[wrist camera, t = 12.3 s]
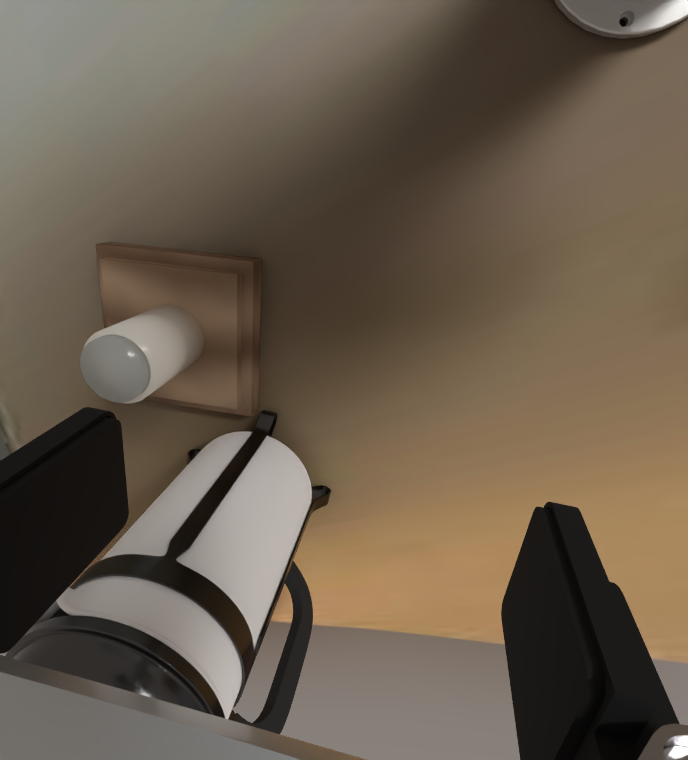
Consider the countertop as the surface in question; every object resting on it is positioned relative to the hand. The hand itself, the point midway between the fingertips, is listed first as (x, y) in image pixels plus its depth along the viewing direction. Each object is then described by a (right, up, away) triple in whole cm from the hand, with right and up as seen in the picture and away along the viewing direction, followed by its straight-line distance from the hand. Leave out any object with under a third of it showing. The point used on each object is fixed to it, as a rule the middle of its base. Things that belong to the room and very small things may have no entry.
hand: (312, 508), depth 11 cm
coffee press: (-7, -7, +38) cm, 39 cm away
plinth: (-14, +8, +34) cm, 37 cm away
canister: (-14, +7, +31) cm, 34 cm away
